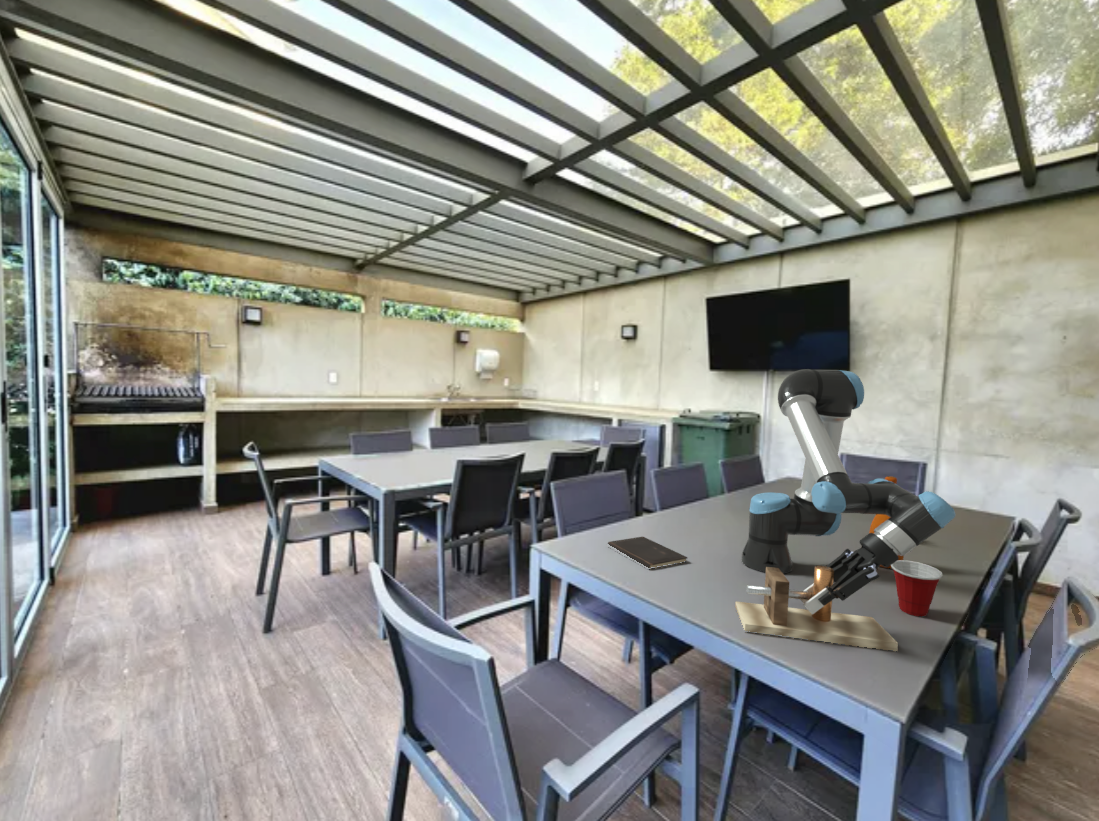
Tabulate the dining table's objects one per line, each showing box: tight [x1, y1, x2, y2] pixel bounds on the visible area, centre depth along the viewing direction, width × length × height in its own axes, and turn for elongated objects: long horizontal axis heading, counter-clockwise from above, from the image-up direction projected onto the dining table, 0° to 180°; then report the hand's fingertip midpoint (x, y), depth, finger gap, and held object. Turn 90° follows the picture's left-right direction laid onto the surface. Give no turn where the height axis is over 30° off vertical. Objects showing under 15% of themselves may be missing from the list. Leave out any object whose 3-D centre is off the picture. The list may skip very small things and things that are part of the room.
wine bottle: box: [868, 475, 905, 570], centre depth 157 cm, size 10×10×30 cm
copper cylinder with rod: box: [745, 565, 834, 622], centre depth 114 cm, size 19×4×12 cm, turn 79°
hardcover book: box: [607, 536, 689, 568], centre depth 160 cm, size 16×23×2 cm
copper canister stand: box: [734, 567, 899, 652], centre depth 113 cm, size 32×12×12 cm, turn 79°
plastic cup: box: [891, 559, 944, 618], centre depth 124 cm, size 11×11×12 cm
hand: (804, 604), depth 113 cm, fingers closed on copper cylinder with rod, 4 cm apart
